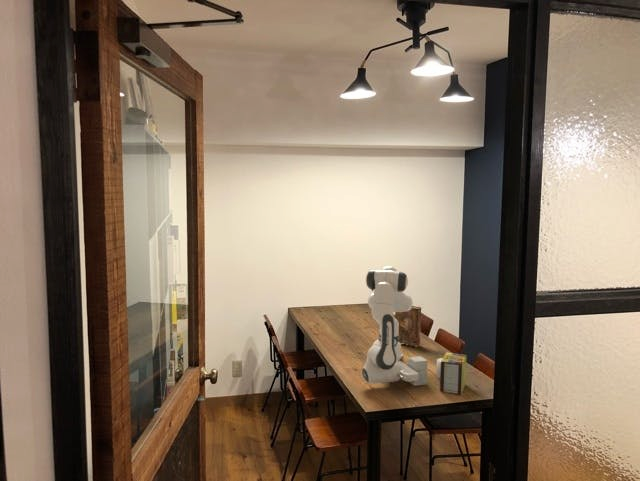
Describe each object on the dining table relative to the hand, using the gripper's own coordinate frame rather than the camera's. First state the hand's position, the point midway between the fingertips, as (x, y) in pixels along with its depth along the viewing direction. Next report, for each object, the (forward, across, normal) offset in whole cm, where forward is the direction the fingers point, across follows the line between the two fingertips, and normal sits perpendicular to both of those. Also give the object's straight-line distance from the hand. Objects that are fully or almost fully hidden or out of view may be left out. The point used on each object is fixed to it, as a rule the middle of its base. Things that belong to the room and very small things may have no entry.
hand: (417, 369), depth 249 cm
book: (+27, +60, +7) cm, 66 cm away
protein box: (+14, -11, +7) cm, 19 cm away
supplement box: (0, 0, +7) cm, 7 cm away
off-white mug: (+18, +3, +7) cm, 19 cm away
